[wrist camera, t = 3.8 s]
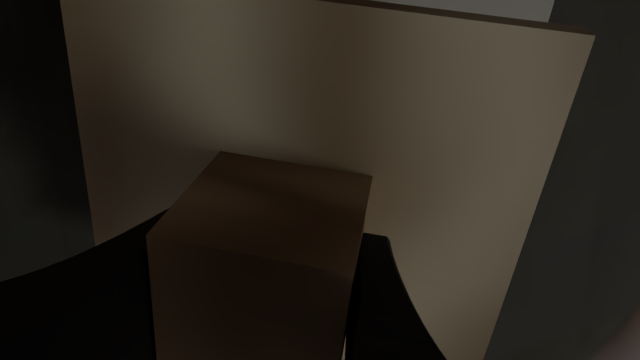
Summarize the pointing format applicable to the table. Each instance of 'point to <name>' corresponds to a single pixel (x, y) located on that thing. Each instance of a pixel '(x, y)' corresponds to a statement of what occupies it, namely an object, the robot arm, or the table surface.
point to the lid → (316, 159)
